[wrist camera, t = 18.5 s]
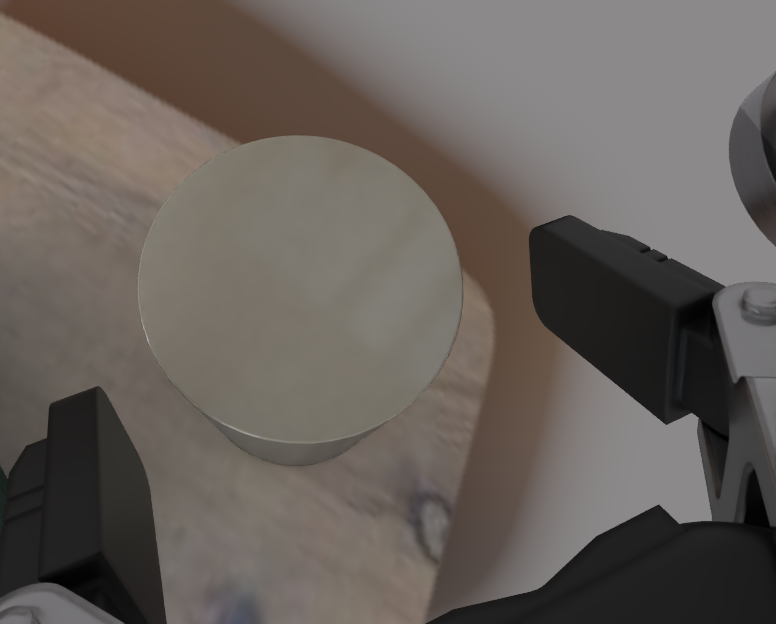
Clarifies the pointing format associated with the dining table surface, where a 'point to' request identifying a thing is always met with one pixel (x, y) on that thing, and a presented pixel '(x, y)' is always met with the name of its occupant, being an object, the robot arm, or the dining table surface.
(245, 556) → the dining table surface
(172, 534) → the dining table surface
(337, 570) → the dining table surface
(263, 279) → the cream cylinder
